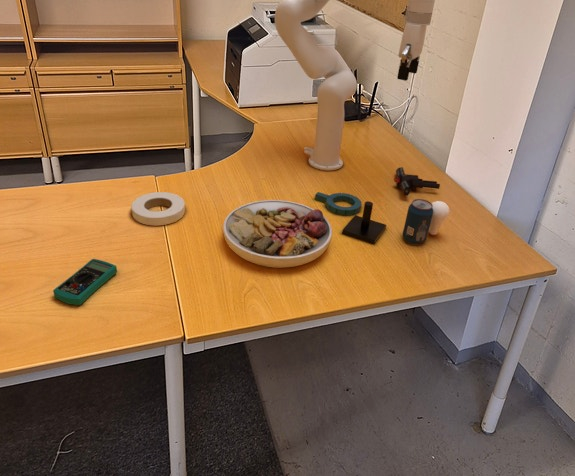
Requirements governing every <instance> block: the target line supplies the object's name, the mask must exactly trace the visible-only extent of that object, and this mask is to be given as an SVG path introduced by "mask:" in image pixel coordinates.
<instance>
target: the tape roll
mask: <svg viewBox="0 0 575 476" xmlns="http://www.w3.org/2000/svg"><path fill="white" fill-rule="evenodd" d="M159 206H162V207H167V209H163V210H151V208H153V207H159ZM185 212H186V205H185V200H184V198H182V197H181V196H179V195H178V194H176V193H172V192H168V191H167V192H166V191H155V192H154V191H153V192H149V193H145V194H142V195H140V196H138V197H137V198H135V199H134V200H133V201H132V203H131V215H132V217H133V219H134V220H135V221H136V222H138V223H140V224H143V225H147V226H155V227H156V226H165V225H169V224H173V223H177V222H178V221H179V220H180V219H181V218H183V217H184V215H185V214H186V213H185Z"/></svg>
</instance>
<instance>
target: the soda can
mask: <svg viewBox="0 0 575 476" xmlns="http://www.w3.org/2000/svg"><path fill="white" fill-rule="evenodd" d="M432 207H433V205H432V202H430V201H429V200H426V199H424V198H423V199H422V198H416V199H413V200H412V201H411V203H410V204H409V206H408V208H407V213H406V217H405V222H404V226H403V229H402V237H403V240H404V241H405V242H406V243H407V244H409V245H413V246H420V245H422V244H424V243H425V242H426V241H427V239H428V235H429V228H430V223H431V219H432V216H433V208H432Z"/></svg>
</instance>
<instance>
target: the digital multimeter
mask: <svg viewBox="0 0 575 476" xmlns="http://www.w3.org/2000/svg"><path fill="white" fill-rule="evenodd" d="M117 273H118V267H117V265H115V264H114V263H111V262H108V261H105V260H101V259H97V258H92V259H90V260H89V261H88V262H86V264H83V266H82V267H81V268H80V269H78V270H77V271H76V272H74V273H73V274H72V275H71V276H70V277H68V278H67V279H66V280H63V282H62V283H61V284H59V285H58V286H57V287H55V288H54V289H53V290H52V293H53V296H54V298H56V299H57V300H59V301H61V302H63V303H66V304H69V305H76V306H80V305H82V304H83V303H84V302H85V301H86V300H87V299H88V298H89V297H90V296H92V295H93V294H94V293H95V292H97V290H98V289H100V287H102V286H103V285H104V284H105V283H107V281H109V280H110V279H111V278H112V277H113V276H114V275H116V274H117Z"/></svg>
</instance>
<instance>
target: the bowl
mask: <svg viewBox="0 0 575 476" xmlns="http://www.w3.org/2000/svg"><path fill="white" fill-rule="evenodd" d="M222 231H223V237H224V239H225V242H226V244H227V245H228V247H229V248H230V249H231V250H232V251H233V252H234V253H235V254H236V255H237V256H238V257H240V258H242V259H243V260H245V261H248V262H250V263H252V264H255V265H259V266H261V267H262V266H263V267H267V268H277V269H278V268H281V269H285V268H293V267H298V266H302V265H303V266H304V265H305V264H308V263H310V262H313V261H314V260H316V259H318V258H319V257H321V256H322V255H323V254H324V253H325V252H326V250H327V249H328V247H329V246H330V244H331V241H332V236H333V229H332V225H331V223H330V222H329V219H327V217H326V216H325V215H324V214H323V211H322V210H321V209H318V208H312V207H311V206H308V205H305V204H303V203H299V202H295V201H290V200H284V199H283V200H281V199H263V200H256V201H251V202H248V203H245V204H242V205H239V206H238V207H236V208H235V209H233V210H232V211H230V212H229V213H228V215H227V216H226V217H225V218H224V221H223V225H222Z"/></svg>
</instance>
